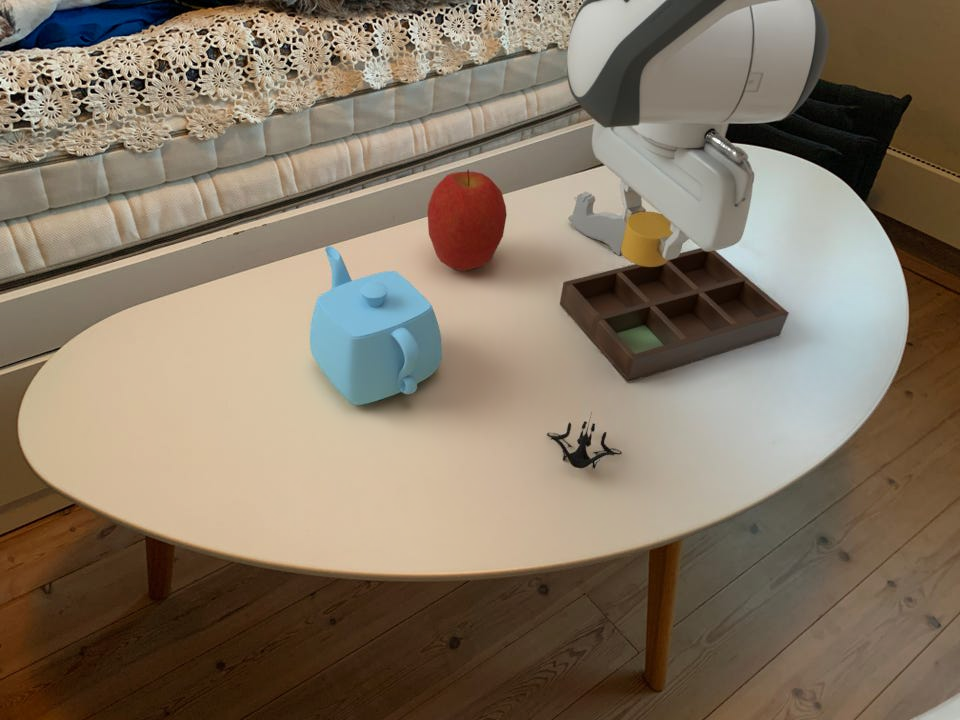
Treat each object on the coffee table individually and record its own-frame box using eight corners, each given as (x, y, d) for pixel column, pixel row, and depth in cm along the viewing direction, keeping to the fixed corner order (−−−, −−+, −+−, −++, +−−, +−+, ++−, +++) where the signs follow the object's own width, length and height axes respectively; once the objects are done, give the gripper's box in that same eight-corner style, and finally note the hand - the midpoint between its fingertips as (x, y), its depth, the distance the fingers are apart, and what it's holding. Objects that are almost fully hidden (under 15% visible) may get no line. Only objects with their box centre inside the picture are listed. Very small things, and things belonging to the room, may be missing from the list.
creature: (550, 428, 84) (534, 470, 77) (559, 385, 81) (543, 425, 74) (622, 447, 82) (613, 491, 75) (633, 404, 79) (625, 447, 73)
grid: (780, 335, 96) (789, 313, 94) (627, 382, 88) (633, 359, 86) (702, 267, 106) (709, 245, 104) (559, 304, 98) (563, 281, 96)
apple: (464, 296, 98) (470, 200, 89) (409, 262, 103) (409, 167, 93) (517, 264, 104) (528, 170, 95) (463, 233, 109) (468, 141, 99)
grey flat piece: (618, 256, 107) (565, 224, 112) (625, 253, 108) (572, 221, 113) (626, 221, 103) (571, 189, 108) (633, 217, 104) (578, 186, 109)
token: (679, 261, 79) (687, 232, 77) (638, 271, 77) (645, 242, 75) (651, 235, 82) (658, 207, 80) (611, 244, 81) (617, 216, 78)
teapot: (377, 303, 96) (375, 224, 88) (461, 390, 85) (466, 308, 78) (285, 338, 90) (273, 256, 82) (362, 435, 80) (357, 351, 72)
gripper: (787, 155, 64) (739, 289, 73) (645, 61, 77) (620, 185, 86) (727, 168, 62) (685, 305, 71) (591, 69, 75) (571, 195, 84)
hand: (648, 238), depth 79 cm, fingers closed on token, 5 cm apart
